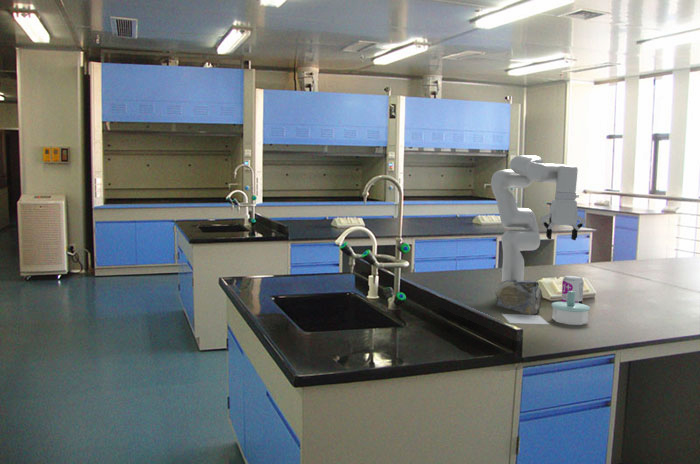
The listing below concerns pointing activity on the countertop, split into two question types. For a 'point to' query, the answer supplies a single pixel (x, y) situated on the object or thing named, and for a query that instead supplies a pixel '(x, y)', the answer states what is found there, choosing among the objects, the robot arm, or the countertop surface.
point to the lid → (570, 304)
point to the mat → (524, 319)
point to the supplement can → (572, 287)
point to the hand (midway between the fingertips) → (561, 239)
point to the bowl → (570, 317)
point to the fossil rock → (519, 296)
